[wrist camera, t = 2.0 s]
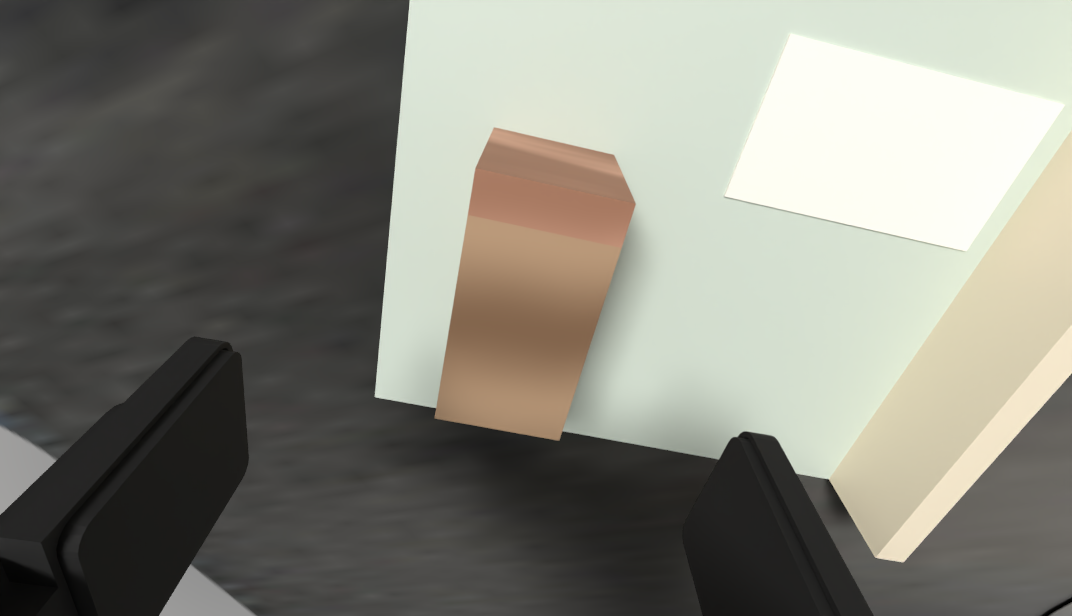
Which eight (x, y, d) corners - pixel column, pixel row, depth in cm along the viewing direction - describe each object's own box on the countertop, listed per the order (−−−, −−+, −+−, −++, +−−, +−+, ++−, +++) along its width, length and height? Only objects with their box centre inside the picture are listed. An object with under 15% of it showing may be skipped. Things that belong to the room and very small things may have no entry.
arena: (847, 475, 25) (903, 562, 21) (378, 389, 23) (343, 467, 19) (1322, -189, 13) (1644, -271, 9) (457, -475, 11) (409, -727, 8)
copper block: (556, 352, 21) (559, 440, 17) (458, 333, 21) (434, 418, 17) (613, 154, 17) (635, 203, 13) (493, 127, 17) (475, 168, 13)
